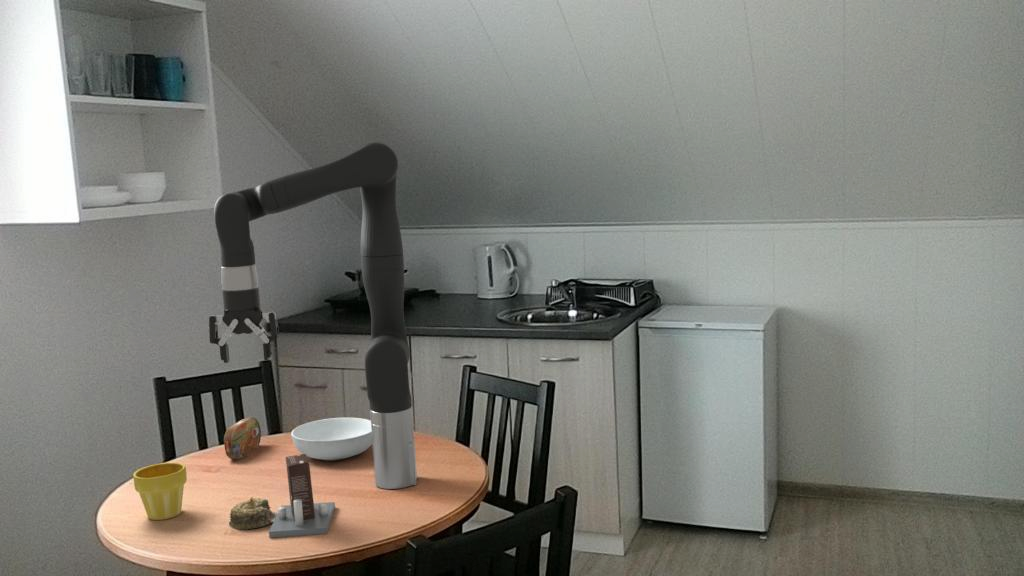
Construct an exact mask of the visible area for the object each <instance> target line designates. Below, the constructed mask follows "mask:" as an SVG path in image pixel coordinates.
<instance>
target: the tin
mask: <svg viewBox="0 0 1024 576" xmlns="http://www.w3.org/2000/svg"><path fill="white" fill-rule="evenodd" d="M259 422H260V421H258V419H257V418H255V417H248V418H247V417H245V418H243V419H242V418H241V420H239V421H237V422H236V423H234V424H233V425H231V426H229V427H228V428H227V429H226V431H225V433H224V435H223V445H224V451H225V455H226V456H227V458H229V459H231V460H243V459H244V458H245V457H247V456H248V455H250V454H251V453H252V452H255V451H256V450H257V449H258V447H259V445H260V443H261V438H262V431H261V426H260V423H259ZM242 458H243V459H242Z"/></svg>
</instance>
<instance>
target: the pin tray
mask: <svg viewBox="0 0 1024 576" xmlns="http://www.w3.org/2000/svg"><path fill="white" fill-rule="evenodd" d="M293 503H294V515H295V522H294V518H293V515H292V512H291V504H287V505H281V506H278V508H277V516H276V518H275V520H274V522H272V523H271V524H272V525H271V527H270V529H269V531H268V538H283V537H284V538H285V537H299V536H300V537H301V536H311V535H313V536H314V535H325V534H327V533H328V530H329V527H330V524H331V521H332V519H333V515H334V512H335V509H336V503H335V501H329V502H316V503H315V502H314V512H315V519H312V520H306V521H303V510H302V500H301V499H296V500H294V501H293Z"/></svg>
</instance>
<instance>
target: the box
mask: <svg viewBox="0 0 1024 576" xmlns="http://www.w3.org/2000/svg"><path fill="white" fill-rule="evenodd" d="M308 459H309V457H308V456H306V454H302V453H301V454H294V455H289V456H285V464H286V473H287V483H288V492H289V503H290V504H289V505H291V512H292V515H293V518H294V522H295V515H294V503H293V501H294V500H296V499H301V500H302V510H303V521H306V520H312V519H315V512H314V503H315V502H314V495H313V486H312V484H313V483H312V477H311V467H310V462H309V460H308Z"/></svg>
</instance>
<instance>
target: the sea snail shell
mask: <svg viewBox="0 0 1024 576" xmlns="http://www.w3.org/2000/svg"><path fill="white" fill-rule="evenodd" d="M277 514H278V512H275V511H272V510H271V506H270V504H269V500H268V499H266V498H261V497H258V498H254V497H253V496H251V497H250V498H249V499H248V500H247V499H246V500H244V501H240V502H239V503H237V504H235V505H234V506H233V507H232V508H231V510H230V513H229V515H230V516H229V518H230V519H229V520H230V521H228V522H229V523H228V526H229V528H232V529H233V530H237V531H243V530H245V531H246V530H253V529H258V528H261V527H262V528H264V527H266V526H268V525H270V524H273V522H274V520H275V518H276V516H277ZM270 516H271V519H270Z"/></svg>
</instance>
